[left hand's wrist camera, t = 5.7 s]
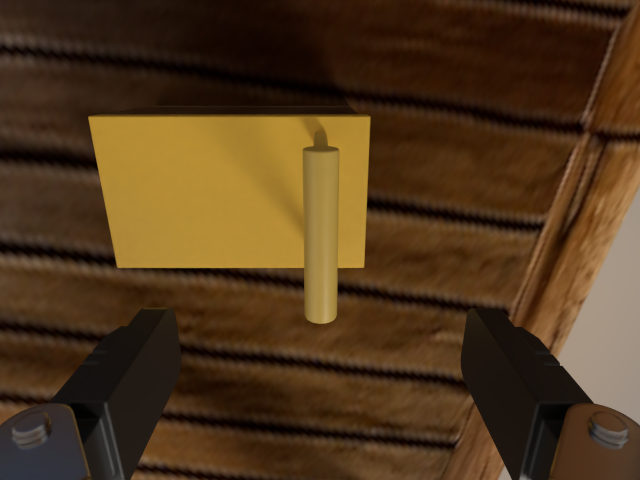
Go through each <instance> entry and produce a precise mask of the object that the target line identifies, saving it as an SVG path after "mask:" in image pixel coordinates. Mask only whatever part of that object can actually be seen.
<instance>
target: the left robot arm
mask: <svg viewBox="0 0 640 480" xmlns="http://www.w3.org/2000/svg"><path fill="white" fill-rule="evenodd" d="M180 370H181V351H180V344H179V338H178V331H177V324H176V317H175V313H174V310H173V309H172V308H142V309H141V310H140V311H139V312H138V314H137V315H136V316H135V317H134V319H133V320H132V321H131V323H130V324H129V325H128V326H121V327H119V328H118V329H116V330H115V331H113V332H112V333H110V334H109V335H107V336H106V337H104V338H103V339H102V340H101V342H100V343H99V344H98V345H97V346H96V347H95V349H94V350H93V353H92V354H90V355H89V356H88V357H87V358H86V359H85V361H84V362H83V365H80V366H79V368H78V369H77V370H76V371H75V372H74V374H73V375H72V376H71V377H70V378H69V380H68V381H67V382H66V383H65V384H64V385H63V387H62V388H61V389H60V390H59V391H58V393H57V394H56V395H55V396H54V397H53V399H52V400H51V401H50V402H49V403H48V404H42V405H38V406H34V407H31V408H29V409H26V410H24V411H22V412H20V413H18V414H16V415H14V416H12V417H11V418H9V419H8V420H6V421H5V422H4V423H2V424H1V425H0V480H130V479H131V477H132V475H133V473H134V471H135V469H136V467H137V465H138V462H139V460H140V458H141V456H142V454H143V452H144V450H145V448H146V446H147V443H148V441H149V439H150V437H151V435H152V433H153V431H154V429H155V427H156V425H157V422H158V420H159V418H160V416H161V414H162V412H163V410H164V408H165V406H166V404H167V401H168V399H169V397H170V395H171V393H172V391H173V389H174V387H175V385H176V383H177V380H178V378H179V375H180ZM461 370H462V375H463V378H464V381H465V383H466V385H467V387H468V389H469V391H470V393H471V395H472V398H473V400H474V402H475V404H476V406H477V408H478V410H479V412H480V414H481V416H482V418H483V420H484V422H485V425H486V427H487V429H488V431H489V433H490V435H491V437H492V439H493V441H494V443H495V445H496V447H497V449H498V452H499V454H500V456H501V458H502V460H503V462H504V464H505V466H506V468H507V470H508V472H509V474H510V476H511V479H512V480H640V425H639V424H637V423H636V422H635V421H634V420H632V419H631V418H629V417H628V416H626V415H624V414H622V413H620V412H618V411H616V410H614V409H611V408H609V407H605V406H602V405H598V404H594V403H593V402H592V400H591V399H590V398H589V397H588V396H587V395H586V393H585V392H584V391H583V390H582V389H581V387H580V386H579V385H578V384H577V383H576V382H575V380H574V379H573V378H572V377H571V376H570V374H569V373H568V372H567V371H566V370H565V369H564V367H563V366H560V363H559V362H558V360H557V359H556V358H555V357H554V356H553V355H551V354H550V351H549V350H548V349H547V347H546V346H545V345H544V344H543V343H542V342H541V340H540V339H539V338H537V337H536V336H534V335H533V334H531V333H530V332H528V331H527V330H525V329H524V328H522V327H515V326H514V325H513V324H512V323H511V321H510V320H509V319H508V318H507V316H506V315H505V314H504V312H503V311H502V310H501V309H470V310H469V312H468V314H467V319H466V326H465V333H464V339H463V346H462V353H461Z"/></svg>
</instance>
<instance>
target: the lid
mask: <svg viewBox="0 0 640 480" xmlns="http://www.w3.org/2000/svg"><path fill="white" fill-rule="evenodd" d="M88 119H89V124H90V129H91V134H92V139H93V145H94V150H95V155H96V160H97V165H98V170H99V175H100V181H101V186H102V191H103V196H104V201H105V206H106V212H107V217H108V222H109V227H110V232H111V237H112V242H113V248H114V253H115V258H116V263H117V267H118V268H304V287H305V316H306V318H307V319H308V320H309V321H311V322H314V323H328V322H331V321H333V320H334V319H335V318H336V316H337V269H338V268H363V267H364V256H365V232H366V209H367V185H368V161H369V138H370V116H369V115H93V116H89V117H88Z"/></svg>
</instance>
